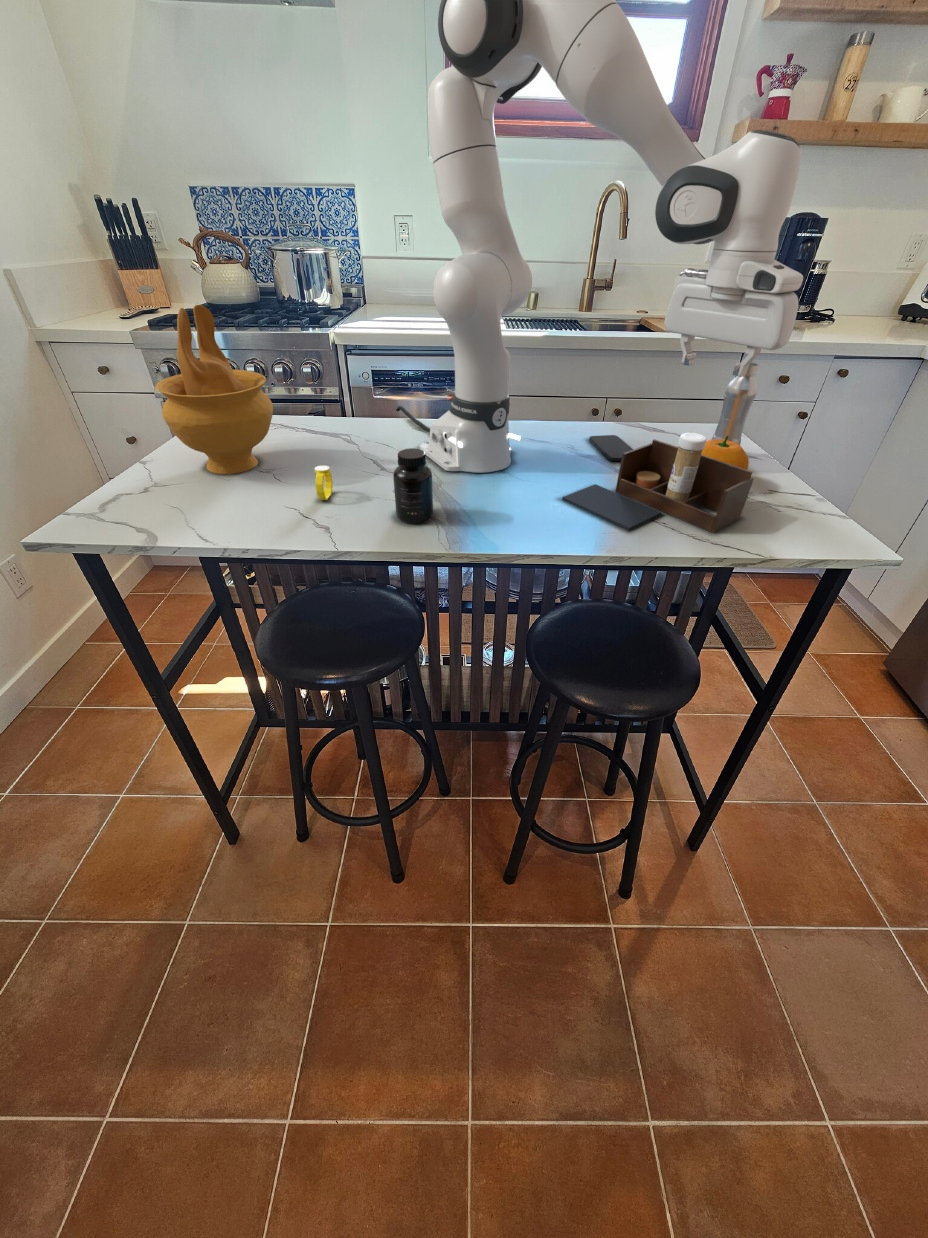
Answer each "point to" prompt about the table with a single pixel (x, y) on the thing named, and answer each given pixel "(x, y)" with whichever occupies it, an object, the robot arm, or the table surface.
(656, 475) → the spice tin
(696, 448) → the sprinkles bottle
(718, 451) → the fruit
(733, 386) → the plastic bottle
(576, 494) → the rubber mat
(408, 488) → the supplement bottle
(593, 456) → the table surface
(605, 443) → the phone
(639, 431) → the table surface
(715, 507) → the spice rack
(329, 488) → the watch
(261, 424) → the decorative bowl
